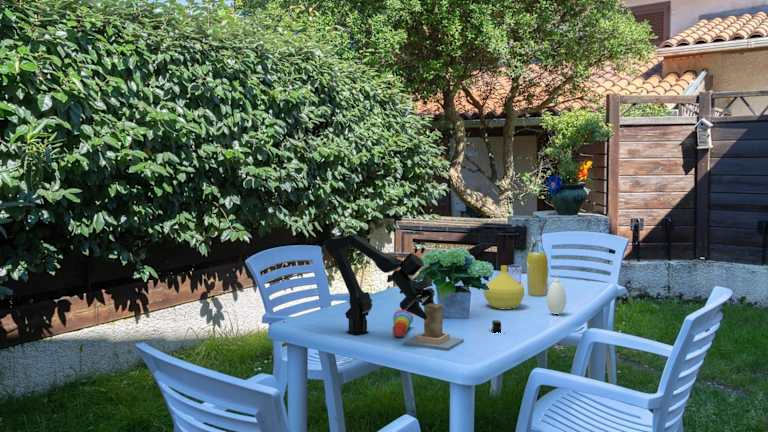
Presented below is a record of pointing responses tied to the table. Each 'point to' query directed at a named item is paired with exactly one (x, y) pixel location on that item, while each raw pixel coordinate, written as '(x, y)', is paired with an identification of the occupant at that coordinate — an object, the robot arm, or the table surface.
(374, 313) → the table surface
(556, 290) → the sauce bottle
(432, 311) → the walnut pillar
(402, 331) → the stacking toy
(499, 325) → the black block on base
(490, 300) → the vase
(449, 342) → the grey board with frame
